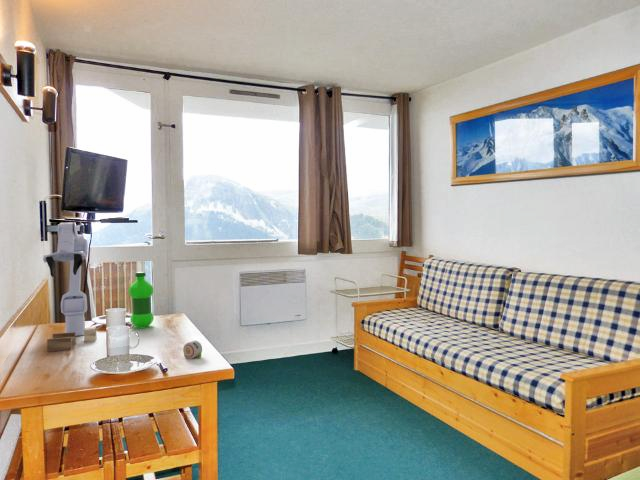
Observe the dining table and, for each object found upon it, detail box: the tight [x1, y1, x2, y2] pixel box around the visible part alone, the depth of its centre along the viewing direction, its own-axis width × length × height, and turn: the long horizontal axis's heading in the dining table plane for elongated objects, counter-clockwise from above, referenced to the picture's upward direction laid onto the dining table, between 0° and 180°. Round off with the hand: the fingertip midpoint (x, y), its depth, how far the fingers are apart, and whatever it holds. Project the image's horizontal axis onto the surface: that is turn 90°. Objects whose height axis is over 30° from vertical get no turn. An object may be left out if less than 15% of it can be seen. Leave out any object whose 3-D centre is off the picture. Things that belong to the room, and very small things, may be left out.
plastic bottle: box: [128, 271, 154, 329], centre depth 225 cm, size 10×10×25 cm
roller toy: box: [182, 340, 203, 360], centre depth 173 cm, size 4×6×6 cm
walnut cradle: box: [46, 332, 77, 352], centre depth 191 cm, size 10×8×4 cm
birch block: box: [83, 326, 98, 343], centre depth 202 cm, size 4×4×5 cm
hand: (63, 274), depth 186 cm, fingers open, 7 cm apart
